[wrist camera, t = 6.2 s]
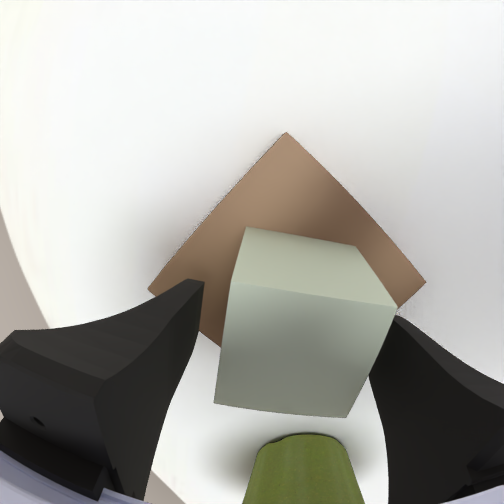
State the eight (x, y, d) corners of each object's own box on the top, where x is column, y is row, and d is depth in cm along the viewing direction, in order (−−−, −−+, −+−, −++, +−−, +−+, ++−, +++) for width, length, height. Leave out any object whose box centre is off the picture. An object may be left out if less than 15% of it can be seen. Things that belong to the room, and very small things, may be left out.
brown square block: (403, 258, 16) (426, 282, 13) (286, 359, 18) (288, 394, 16) (283, 133, 14) (286, 132, 11) (166, 264, 17) (147, 289, 14)
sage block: (355, 246, 12) (398, 307, 8) (327, 336, 14) (346, 417, 9) (246, 226, 12) (231, 280, 8) (230, 322, 14) (213, 402, 9)
